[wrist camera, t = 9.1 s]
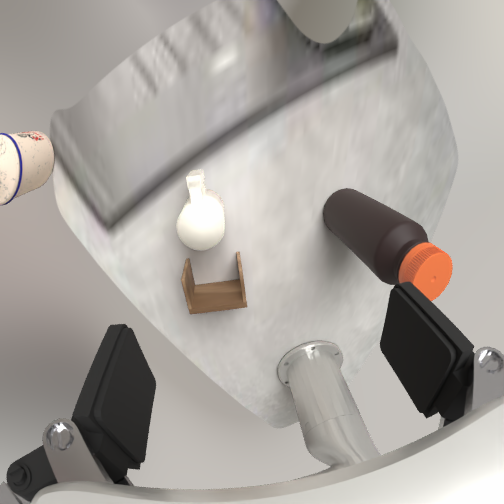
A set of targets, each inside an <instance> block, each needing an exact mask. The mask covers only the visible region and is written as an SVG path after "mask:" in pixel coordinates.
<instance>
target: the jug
mask: <svg viewBox="0 0 504 504" xmlns="http://www.w3.org/2000/svg"><path fill="white" fill-rule="evenodd" d="M186 179H187V185H188V189H189V192H190V196H189V198H188V200H187V202H186V204H185V206H184V208H183V210H182V212H181V214H180V216H179V218H178V220H177V226H176V228H177V234H178V236H179V238H180V240H181V241H182V242H183V243H184V244H185V245H186V246H188V247H189V248H192V249H195V250H207V249H210V248H213V247H214V246H216V245H217V244H218V243H219V242H220V241H221V239H222V237H223V235H224V231H225V219H224V203H223V200H222V198H221V197H220V196H219V195H218V194H217V193H216V192H214V191H212V190H209V189H205V184H204V179H205V178H204V170H203V169H199V170H193V171H191V172H190V173H189V174H188V176H187V177H186Z"/></svg>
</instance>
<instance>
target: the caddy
mask: <svg viewBox="0 0 504 504" xmlns="http://www.w3.org/2000/svg"><path fill="white" fill-rule="evenodd" d="M236 253H237V260H238V268H239V275H240V279H238V280H231V281H223V282H216V283H208V284H200V285H195V283H194V279H193V274H192V269H191V265H190V260H189V258H188V259H186V262H185V266H184V270H183V274H182V279H181V281H182V285H183V289H184V293H185V297H186V301H187V305H188V309H189V312H190V314H197V313H206V312H214V311H222V310H230V309H237V308H245V307H247V302H246V294H245V287H244V279H243V272H242V265H241V259H240V253H239V252H236Z"/></svg>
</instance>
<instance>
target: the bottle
mask: <svg viewBox="0 0 504 504" xmlns="http://www.w3.org/2000/svg"><path fill="white" fill-rule="evenodd" d="M323 214H324V221H325V223H326V225H327V227H328V228H329V229H330V230H331V231H332V232H333V233H334V234H335V235H336V236H337V237H338V238H339V239H340V240H341V241H342V242H344V243H345V244H346V245H347V246H348V247H349V248H350V249H351V250H352V251H353V252H354V253H355V254H356V255H357V256H358V257H359V258H360V259H361V260H362V261H363V262H364V263H365V264H366V265H367V266H368V267H369V268H370V269H371V271H372V272H373V273H374V274H375V275H376V276H377V277H378V278H379V279H380V280H381V281H382V282H385V283H387V284H390V285H396V284H399V283H403V282H408V281H409V282H411V283H412V284H413V285H414V286H416V287H417V288H418V289H419V290H420V291H421V292H422V293H423V294H424V295H425V296H426V297H427V298H428V299H429V300H430V301H433V300H434V299H435V298H436V297H438V296H439V295H440V294H441V293H442V292H443V291H444V289H445V288H446V286H447V285H448V283H449V281H450V278H451V274H452V260H451V258H450V257H449V255H448V254H447V253H445V252H444V251H442V250H441V249H439V248H438V247H436V246H435V245H433V244H432V243H429V242H428V238H427V234H426V232H425V231H424V229H423V227H422V226H421V225H419V224H418V223H416V222H415V221H413V220H411V219H409V218H408V217H406V216H404V215H402V214H400V213H399V212H397V211H395V210H393V209H391V208H389V207H387V206H386V205H384V204H382V203H380V202H378V201H376V200H374V199H372V198H370V197H368V196H366V195H364V194H362V193H360V192H358V191H356V190H354V189H348V188H346V189H341V190H338V191H336V192H335V193H333V194H332V195H331V196H330V197H329V198H328V200H327V202H326V204H325V207H324V213H323Z"/></svg>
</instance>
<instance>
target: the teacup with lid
mask: <svg viewBox="0 0 504 504" xmlns="http://www.w3.org/2000/svg"><path fill="white" fill-rule="evenodd" d="M53 165H54V151H53V147H52V144H51V142H50V140H49V138H48V137H47V136H46V135H45V134H43V133H41V132H38V131H32V132H22V133H14V134H5V133H0V205H5V204H8V203H9V202H10V201H11V200H13V199H14V198H16V197H18V196H21V195H23V194H25V193H27V192H30V191H32V190H34V189H37V188H39V187H41V186H42V185H44V184H45V183H46V181H47V180H48V178H49V176H50V175H51V173H52V170H53Z"/></svg>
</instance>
